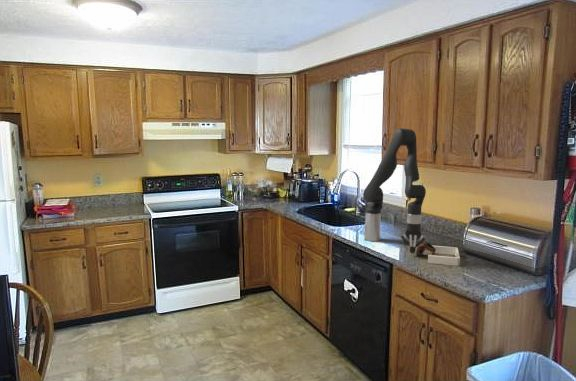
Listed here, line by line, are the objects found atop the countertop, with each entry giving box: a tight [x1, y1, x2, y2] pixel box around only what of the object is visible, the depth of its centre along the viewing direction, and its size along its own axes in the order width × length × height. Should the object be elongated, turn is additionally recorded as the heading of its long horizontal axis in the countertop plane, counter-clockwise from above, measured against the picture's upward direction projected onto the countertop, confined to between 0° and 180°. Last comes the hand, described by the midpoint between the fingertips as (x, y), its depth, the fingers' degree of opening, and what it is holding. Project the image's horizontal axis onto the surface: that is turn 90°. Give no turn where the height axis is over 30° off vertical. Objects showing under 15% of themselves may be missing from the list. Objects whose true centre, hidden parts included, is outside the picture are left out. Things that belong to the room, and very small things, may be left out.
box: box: [427, 244, 461, 267], centre depth 212 cm, size 15×20×4 cm
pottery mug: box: [414, 241, 436, 257], centre depth 216 cm, size 12×10×8 cm
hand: (412, 253), depth 217 cm, fingers closed
